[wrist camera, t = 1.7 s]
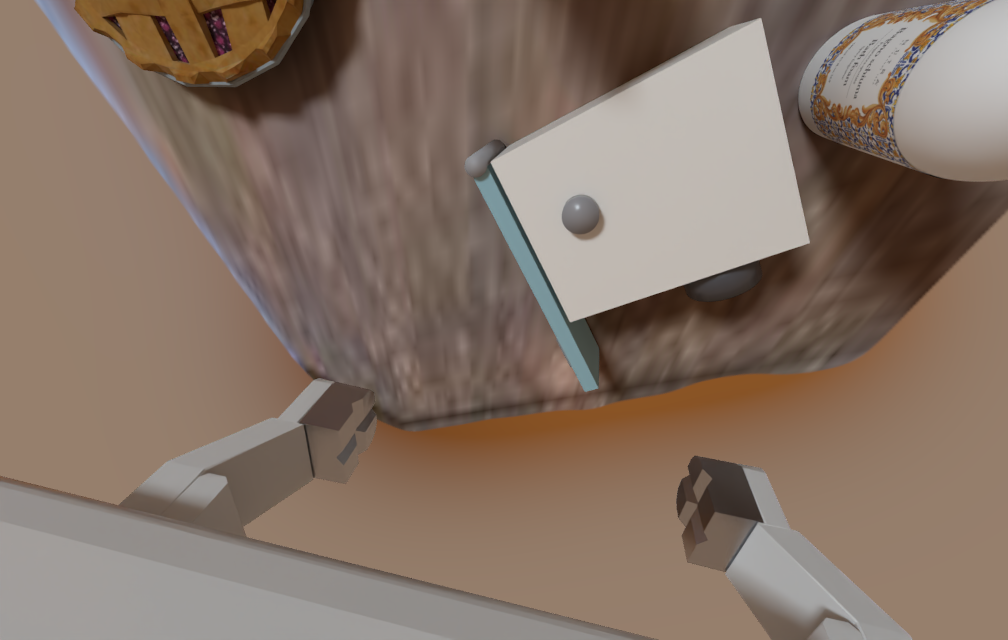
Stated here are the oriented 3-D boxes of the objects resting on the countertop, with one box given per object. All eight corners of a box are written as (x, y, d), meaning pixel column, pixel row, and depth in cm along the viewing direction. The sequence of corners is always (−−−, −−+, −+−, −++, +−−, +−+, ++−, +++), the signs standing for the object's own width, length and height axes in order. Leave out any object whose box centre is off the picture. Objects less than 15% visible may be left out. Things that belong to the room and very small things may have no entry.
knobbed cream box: (729, 26, 27) (766, 16, 21) (782, 244, 33) (823, 286, 27) (508, 146, 33) (486, 165, 27) (586, 311, 39) (582, 357, 33)
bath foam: (847, -5, 25) (1325, -136, 9) (956, 39, 25) (1648, -6, 9) (771, 117, 29) (997, 192, 12) (866, 155, 29) (1221, 282, 12)
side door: (500, 136, 33) (478, 151, 28) (600, 346, 41) (599, 391, 35) (477, 149, 34) (452, 166, 28) (579, 352, 42) (575, 397, 36)
